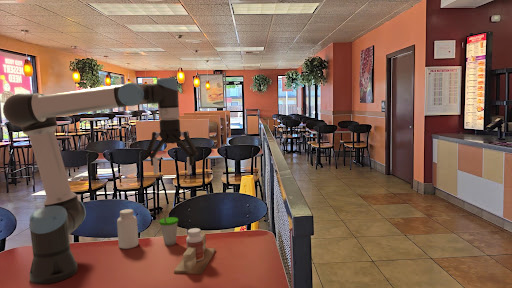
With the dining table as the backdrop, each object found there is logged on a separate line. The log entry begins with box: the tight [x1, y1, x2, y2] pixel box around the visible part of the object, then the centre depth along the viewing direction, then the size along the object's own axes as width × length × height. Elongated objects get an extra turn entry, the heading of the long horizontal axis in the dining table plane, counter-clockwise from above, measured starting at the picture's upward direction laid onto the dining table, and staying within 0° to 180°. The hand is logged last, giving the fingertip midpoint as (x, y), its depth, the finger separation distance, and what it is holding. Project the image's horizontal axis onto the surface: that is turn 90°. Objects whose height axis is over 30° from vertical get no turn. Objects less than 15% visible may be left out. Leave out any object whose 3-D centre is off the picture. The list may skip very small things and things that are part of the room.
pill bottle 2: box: [185, 227, 204, 262], centre depth 144 cm, size 6×6×11 cm
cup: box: [158, 211, 179, 247], centre depth 162 cm, size 8×8×15 cm
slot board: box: [173, 233, 216, 275], centre depth 145 cm, size 10×20×7 cm, turn 172°
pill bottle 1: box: [116, 208, 139, 250], centre depth 162 cm, size 8×8×15 cm
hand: (172, 173), depth 150 cm, fingers open, 13 cm apart
